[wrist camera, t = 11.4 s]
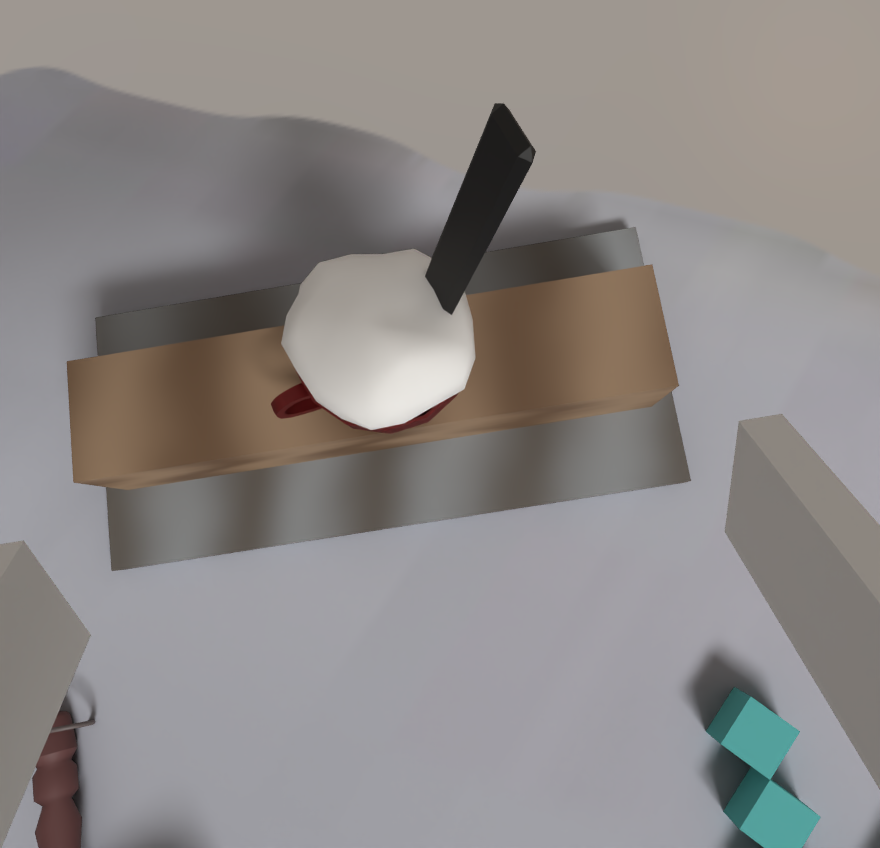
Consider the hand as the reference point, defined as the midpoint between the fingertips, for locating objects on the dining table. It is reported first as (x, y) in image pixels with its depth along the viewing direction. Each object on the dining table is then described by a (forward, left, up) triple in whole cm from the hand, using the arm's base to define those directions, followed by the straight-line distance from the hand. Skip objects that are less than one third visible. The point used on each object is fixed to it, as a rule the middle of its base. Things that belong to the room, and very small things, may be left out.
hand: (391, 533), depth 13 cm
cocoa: (0, +7, -13) cm, 15 cm away
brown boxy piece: (-2, +7, -18) cm, 19 cm away
